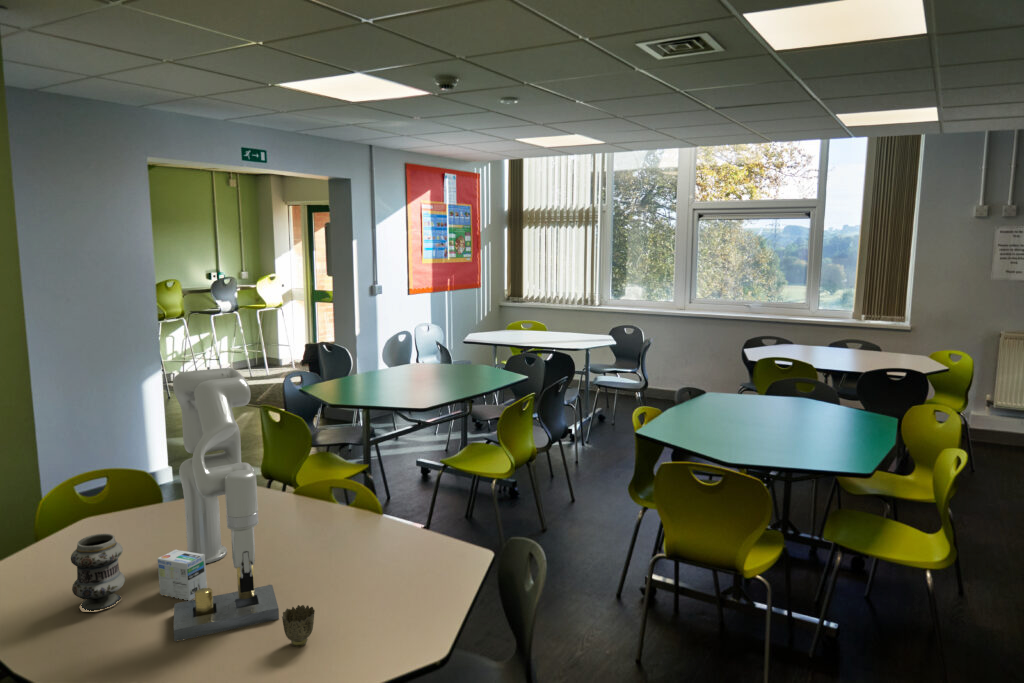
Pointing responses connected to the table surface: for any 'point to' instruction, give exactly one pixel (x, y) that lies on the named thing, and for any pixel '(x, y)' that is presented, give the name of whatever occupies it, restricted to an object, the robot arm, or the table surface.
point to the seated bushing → (204, 602)
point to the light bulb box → (181, 574)
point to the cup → (298, 624)
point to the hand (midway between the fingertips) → (246, 586)
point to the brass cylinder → (240, 595)
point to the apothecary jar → (97, 571)
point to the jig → (225, 613)
